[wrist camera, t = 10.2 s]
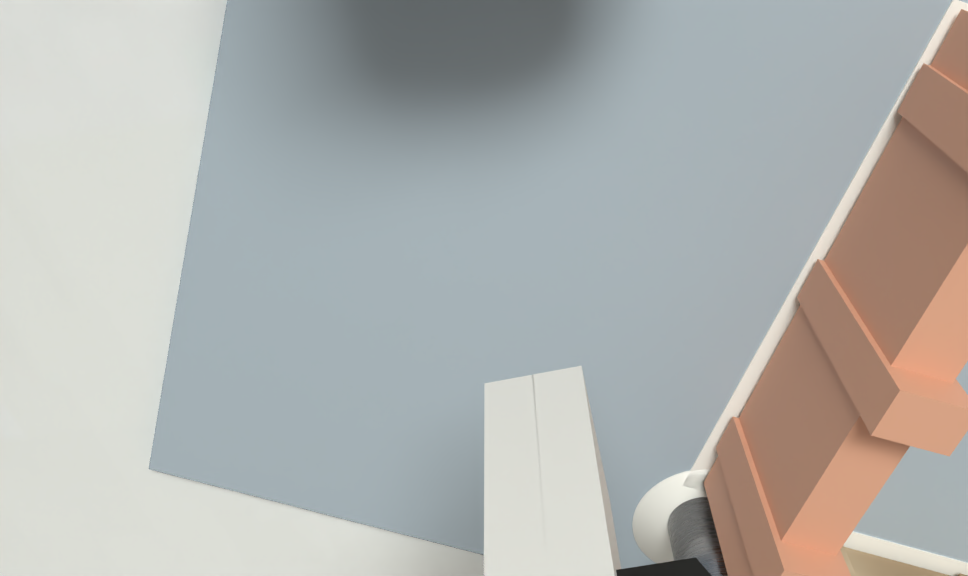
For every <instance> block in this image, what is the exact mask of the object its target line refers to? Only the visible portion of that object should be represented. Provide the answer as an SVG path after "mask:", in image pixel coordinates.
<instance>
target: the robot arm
mask: <svg viewBox="0 0 968 576" xmlns="http://www.w3.org/2000/svg"><path fill="white" fill-rule="evenodd" d="M484 576H711V574H710V573H709V572H708V571H707V570H706V569H705V567H704V566H703V565H702V564H701V563H700V562H699V560H698V559H697V558H696V557H695V558H689V559H682V560H676V561H670V562H663V563H657V564H650V565H644V566H638V567H631V568H625V569H621V564H620V558H619V552H618V546H617V540H616V534H615V528H614V522H613V516H612V510H611V504H610V498H609V494H608V489H607V484H606V479H605V475H604V470H603V465H602V460H601V456H600V451H599V446H598V441H597V437H596V432H595V427H594V422H593V418H592V413H591V408H590V403H589V399H588V394H587V389H586V385H585V380H584V375H583V370H582V366H577V367H571V368H566V369H560V370H555V371H549V372H544V373H538V374H533V375H527V376H522V377H517V378H511V379H506V380H500V381H495V382H489V383H484Z"/></svg>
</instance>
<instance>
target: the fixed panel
mask: <svg viewBox="0 0 968 576" xmlns="http://www.w3.org/2000/svg"><path fill="white" fill-rule="evenodd" d="M840 550H841V552H842V555H843V557H844V560H845V562H846V564H847V567H848V569H849V572H850V574H851V576H950V575H947V574H943V573H939V572H935V571H932V570H928V569H924V568H921V567H917V566H913V565H910V564H906V563H902V562H899V561H895V560H891V559H887V558H884V557H880V556H876V555H873V554H869V553H865V552H862V551H858V550H854V549H851V548H847V547H844V545H843V546H842V548H841V549H840ZM958 576H968V575H964V574H959V575H958Z"/></svg>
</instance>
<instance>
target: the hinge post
mask: <svg viewBox="0 0 968 576" xmlns="http://www.w3.org/2000/svg"><path fill="white" fill-rule="evenodd" d="M667 526H668V533H669V538H670V543H671V548H672V553H673V558H674V561H676V560H682V559H689V558H695V557H696V558H697V559H698V560H699V562H700V563H701V564H702V565H703V566H704V567H705V569H706V570H707V571H708V572H709V573H710V574H711V576H728V574H727V570H726V566H725V563H724V559H723V555H722V551H721V547H720V544H719V540H718V536H717V532H716V528H715V524H714V521H713V517H712V513H711V509H710V505H709V501H708V498H707V497H699V498H694V499H690V500H688V501H685V502H683V503H682V504H680V505H679V506H677V507H676V508H675V509H674V510H673V511H672V513H671V514H670V516H669V519H668V524H667Z"/></svg>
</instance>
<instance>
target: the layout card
mask: <svg viewBox="0 0 968 576" xmlns="http://www.w3.org/2000/svg"><path fill="white" fill-rule="evenodd" d="M961 9H963V10H966V11H968V0H227V5H226V11H225V17H224V23H223V29H222V35H221V41H220V47H219V53H218V59H217V65H216V71H215V77H214V83H213V89H212V95H211V101H210V107H209V113H208V119H207V125H206V131H205V137H204V142H203V148H202V154H201V160H200V166H199V172H198V178H197V184H196V190H195V196H194V202H193V208H192V214H191V220H190V226H189V232H188V238H187V244H186V250H185V256H184V262H183V268H182V274H181V280H180V285H179V291H178V297H177V303H176V309H175V315H174V321H173V327H172V333H171V339H170V345H169V351H168V357H167V363H166V369H165V375H164V381H163V387H162V393H161V399H160V405H159V411H158V417H157V423H156V428H155V434H154V440H153V446H152V452H151V458H150V464H149V469H151V470H154V471H158V472H162V473H166V474H170V475H174V476H178V477H182V478H186V479H190V480H193V481H197V482H201V483H205V484H209V485H213V486H217V487H221V488H225V489H228V490H232V491H236V492H240V493H244V494H248V495H252V496H256V497H260V498H264V499H267V500H271V501H275V502H279V503H283V504H287V505H291V506H295V507H299V508H303V509H306V510H310V511H314V512H318V513H322V514H326V515H330V516H334V517H338V518H341V519H345V520H349V521H353V522H357V523H361V524H365V525H369V526H373V527H377V528H380V529H384V530H388V531H392V532H396V533H400V534H404V535H408V536H412V537H416V538H419V539H423V540H427V541H431V542H435V543H439V544H443V545H447V546H451V547H454V548H458V549H462V550H466V551H470V552H474V553H478V554H482V555H484V383H489V382H495V381H500V380H506V379H511V378H517V377H522V376H527V375H533V374H538V373H544V372H549V371H555V370H560V369H566V368H571V367H577V366H582V370H583V375H584V380H585V385H586V389H587V394H588V399H589V403H590V408H591V413H592V418H593V422H594V427H595V432H596V437H597V441H598V446H599V451H600V456H601V460H602V465H603V470H604V475H605V479H606V484H607V489H608V494H609V498H610V504H611V510H612V516H613V522H614V528H615V534H616V540H617V546H618V552H619V558H620V564H621V569H625V568H631V567H638V566H644V565H650V564H657V563H663V562H670V561H674V558H673V553H672V548H671V543H670V538H669V533H668V526H667V524H668V519H669V516H670V514H671V513H672V511H673V510H674V509H675V508H676V507H677V506H679V505H680V504H682V503H683V502H685V501H688V500H690V499H694V498H699V497H707V494H706V490H705V486H704V481H705V479H706V477H707V475H708V473H709V472H710V470H711V468H712V466H713V464H714V462H715V461H716V459H717V457H718V454H717V450H716V447H717V445H718V443H719V441H720V439H721V437H722V436H723V434H724V432H725V430H726V428H727V426H728V424H729V423H730V421H731V419H732V417H737V418H739V417H740V415H741V413H742V411H743V409H744V407H745V405H746V404H747V402H748V400H749V398H750V396H751V394H752V393H753V391H754V389H755V387H756V385H757V383H758V382H759V380H760V378H761V376H762V374H763V372H764V371H765V369H766V367H767V365H768V363H769V361H770V360H771V358H772V356H773V354H774V352H775V350H776V348H777V347H778V345H779V343H780V341H781V339H782V337H783V336H784V334H785V332H786V330H787V328H788V326H789V325H790V323H791V321H792V319H793V317H794V315H795V314H796V312H797V310H798V308H799V306H800V303H799V301H798V299H797V297H798V295H799V293H800V291H801V289H802V287H803V285H804V284H805V282H806V280H807V278H808V276H809V274H810V272H811V271H812V269H813V267H814V265H815V263H816V261H817V259H819V260H823V261H824V260H825V258H826V257H827V255H828V253H829V251H830V249H831V247H832V246H833V244H834V242H835V240H836V238H837V236H838V235H839V233H840V231H841V229H842V227H843V225H844V224H845V222H846V220H847V218H848V216H849V214H850V212H851V211H852V209H853V207H854V205H855V203H856V201H857V200H858V198H859V196H860V194H861V192H862V190H863V189H864V187H865V185H866V183H867V181H868V179H869V178H870V176H871V174H872V172H873V170H874V168H875V167H876V165H877V163H878V161H879V159H880V157H881V156H882V154H883V152H884V150H885V148H886V146H887V144H888V143H889V141H890V139H891V137H892V135H893V133H894V132H895V130H896V128H897V126H898V124H899V122H900V121H901V119H902V117H903V116H901V115H900V114H899V113H898V112H897V111H898V109H899V107H900V106H901V104H902V102H903V100H904V98H905V96H906V94H907V93H908V91H909V89H910V87H911V85H912V83H913V81H914V80H915V78H916V76H917V74H918V72H919V70H920V69H921V67H922V65H923V63H924V64H927V65H931V64H932V62H933V60H934V58H935V56H936V54H937V53H938V51H939V49H940V47H941V45H942V43H943V42H944V40H945V38H946V36H947V34H948V32H949V31H950V29H951V27H952V25H953V23H954V21H955V20H956V18H957V16H958V14H959V12H960V10H961ZM956 380H957V381H958V382H959V384H960V385H961V386H962V388H963V389H964V391H965V392H966V393H967V395H968V361H967V363H966V364H965V366H964V367H963V369H962V370H961V372H960V373H959V375H958V376H957V378H956ZM844 547H847V548H851V549H854V550H858V551H862V552H865V553H869V554H873V555H876V556H880V557H884V558H887V559H891V560H895V561H899V562H902V563H906V564H910V565H913V566H917V567H921V568H924V569H928V570H932V571H935V572H939V573H943V574H947V575H950V576H958V575H959V574H964V575H968V431H967V433H966V434H965V435H964V437H963V438H962V440H961V441H960V442H959V444H958V445H957V447H956V448H955V449H954V451H953V452H952V454H951V455H950V457H949V456H946V455H942V454H938V453H934V452H931V451H927V450H923V449H920V448H916V447H912V446H910V447H909V449H908V450H907V452H906V453H905V455H904V456H903V458H902V459H901V461H900V462H899V463H898V465H897V466H896V468H895V469H894V471H893V472H892V474H891V475H890V477H889V478H888V480H887V481H886V483H885V484H884V486H883V487H882V489H881V490H880V492H879V493H878V495H877V496H876V498H875V499H874V500H873V502H872V503H871V505H870V506H869V508H868V509H867V511H866V512H865V514H864V515H863V517H862V518H861V520H860V521H859V523H858V524H857V526H856V527H855V529H854V530H853V532H852V533H851V534H850V536H849V537H848V539H847V540H846V542H845V543H844Z"/></svg>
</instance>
